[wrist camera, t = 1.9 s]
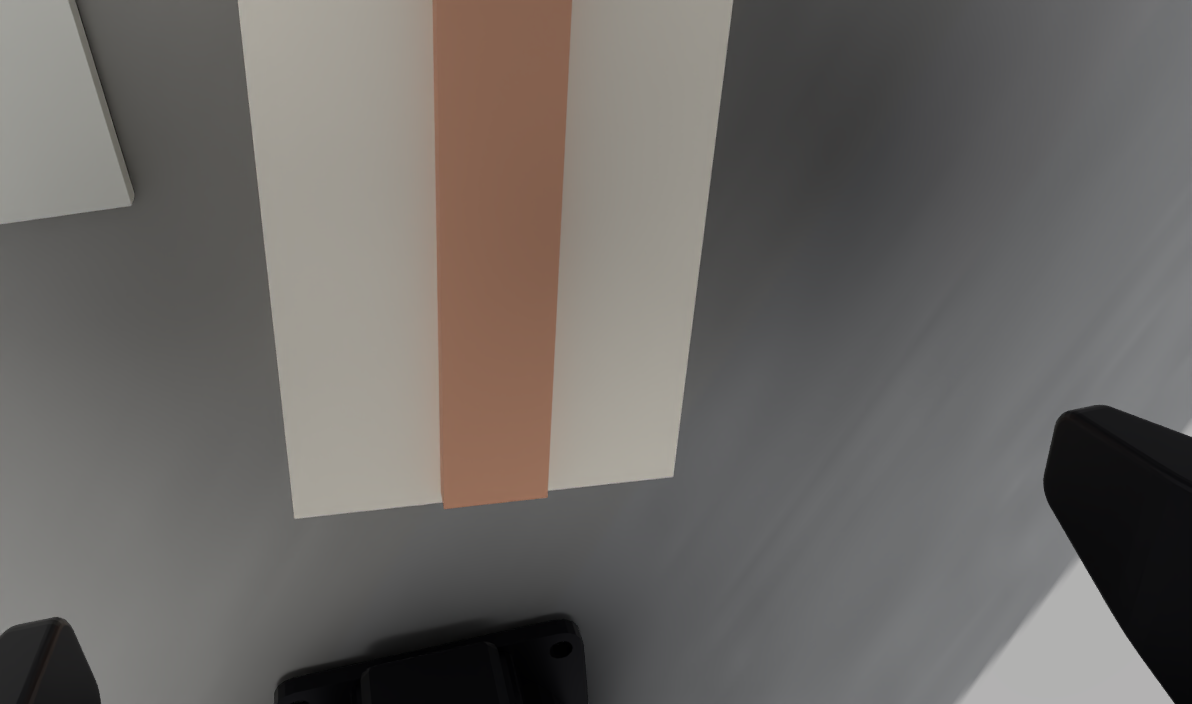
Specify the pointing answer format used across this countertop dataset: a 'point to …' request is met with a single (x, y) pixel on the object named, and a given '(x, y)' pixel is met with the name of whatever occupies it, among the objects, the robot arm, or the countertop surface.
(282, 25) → the card box
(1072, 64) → the countertop surface
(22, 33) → the mat
